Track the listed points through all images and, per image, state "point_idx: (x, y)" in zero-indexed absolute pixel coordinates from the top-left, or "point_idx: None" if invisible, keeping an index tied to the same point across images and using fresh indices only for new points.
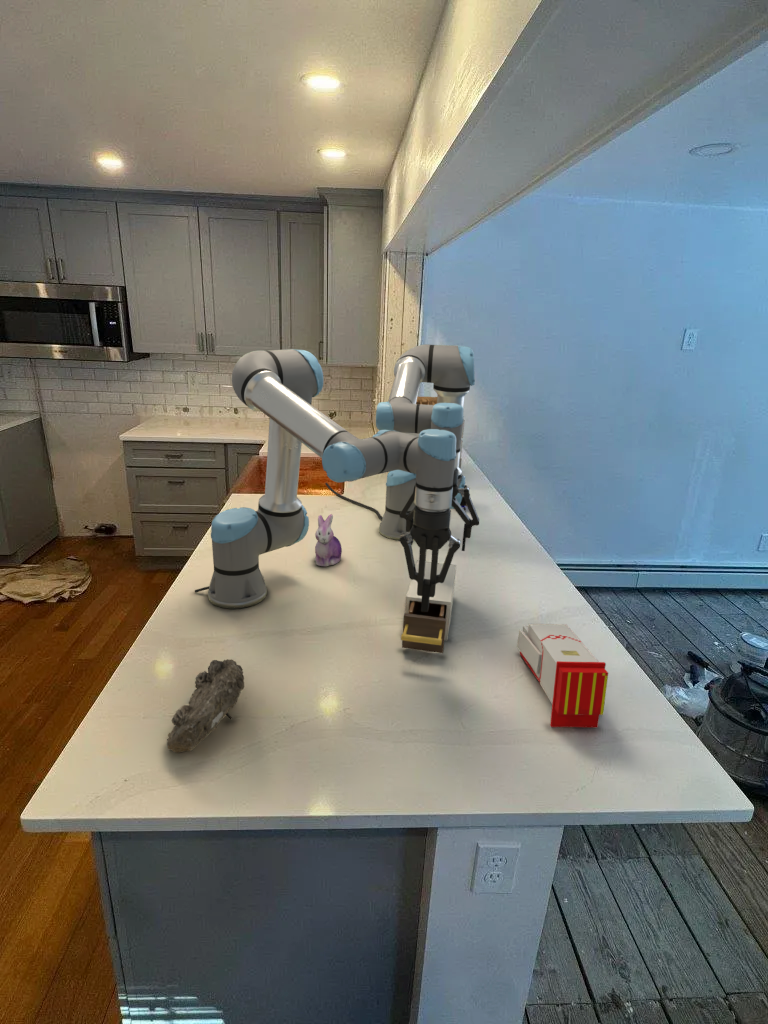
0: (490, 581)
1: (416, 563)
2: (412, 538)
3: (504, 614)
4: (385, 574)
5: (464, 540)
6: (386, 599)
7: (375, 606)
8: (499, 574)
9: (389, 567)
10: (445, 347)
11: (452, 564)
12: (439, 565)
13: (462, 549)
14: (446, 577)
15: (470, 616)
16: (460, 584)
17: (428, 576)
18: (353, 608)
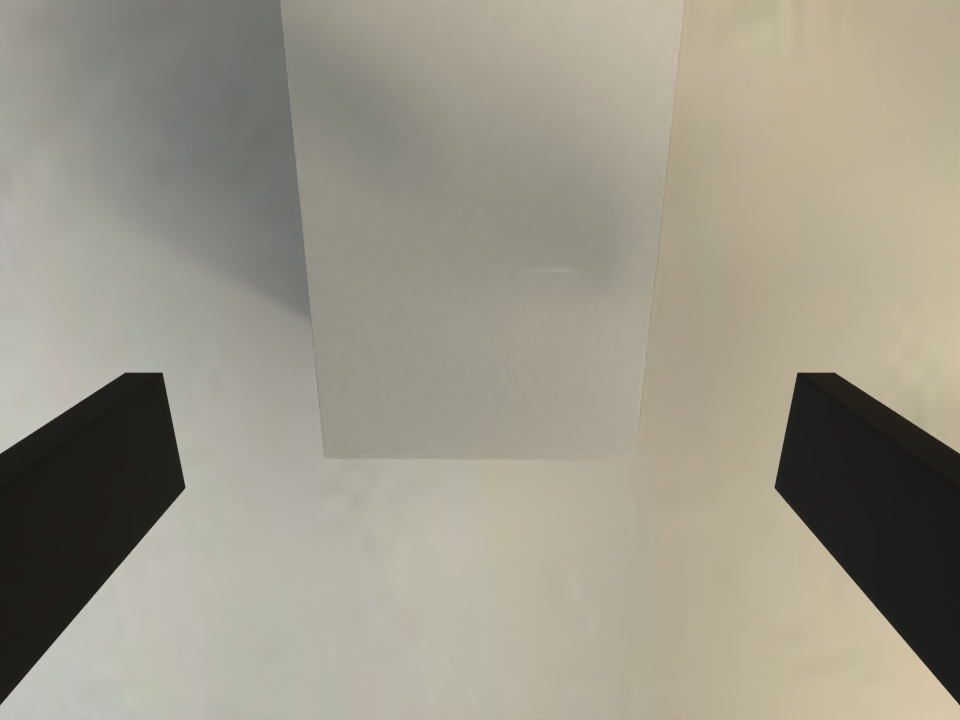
0: (217, 575)
1: (638, 404)
2: (842, 433)
3: (82, 259)
4: (749, 526)
5: (38, 441)
6: (739, 264)
7: (802, 165)
8: (187, 647)
9: (729, 597)
10: None
11: (354, 456)
12: (452, 416)
13: (143, 380)
14: (368, 206)
15: (256, 188)
16: (358, 514)
17: (524, 184)
18: (935, 106)
